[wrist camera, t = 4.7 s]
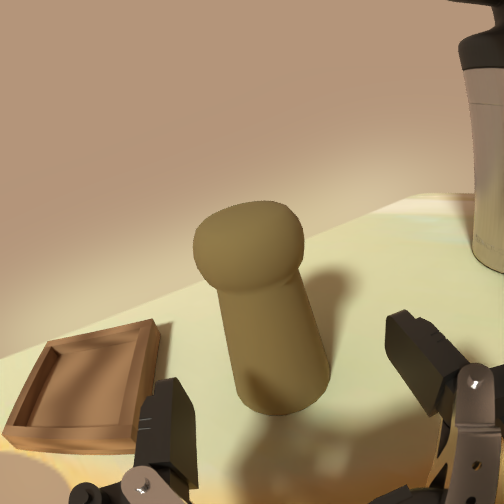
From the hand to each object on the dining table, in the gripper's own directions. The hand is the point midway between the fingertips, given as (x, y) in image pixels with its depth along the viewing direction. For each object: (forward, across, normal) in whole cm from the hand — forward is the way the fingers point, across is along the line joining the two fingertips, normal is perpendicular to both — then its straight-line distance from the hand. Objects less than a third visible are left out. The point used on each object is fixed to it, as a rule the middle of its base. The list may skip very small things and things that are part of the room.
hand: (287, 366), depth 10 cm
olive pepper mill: (+5, 0, +7) cm, 9 cm away
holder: (+8, +15, +6) cm, 18 cm away
